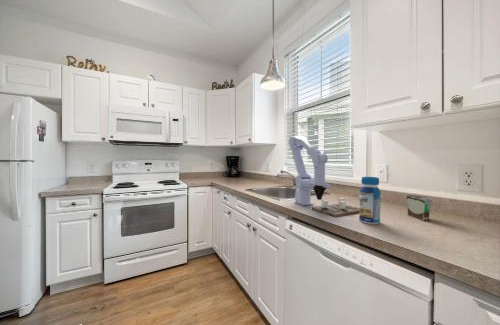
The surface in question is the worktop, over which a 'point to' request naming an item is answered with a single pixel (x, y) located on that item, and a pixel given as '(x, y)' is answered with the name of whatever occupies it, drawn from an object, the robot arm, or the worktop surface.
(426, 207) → the food container
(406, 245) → the worktop surface
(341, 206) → the knob
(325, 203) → the knob
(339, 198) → the knob
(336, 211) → the switch board
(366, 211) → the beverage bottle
